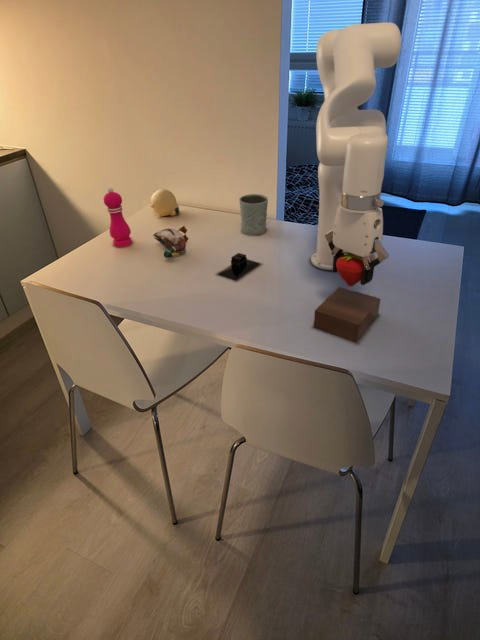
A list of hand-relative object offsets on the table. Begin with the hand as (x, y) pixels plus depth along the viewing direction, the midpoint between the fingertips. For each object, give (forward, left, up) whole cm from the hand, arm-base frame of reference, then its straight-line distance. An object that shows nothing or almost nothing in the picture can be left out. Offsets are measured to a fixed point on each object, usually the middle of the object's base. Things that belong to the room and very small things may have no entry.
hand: (351, 276), depth 94 cm
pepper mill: (+20, -85, -13) cm, 88 cm away
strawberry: (0, 0, -3) cm, 3 cm away
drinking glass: (-21, -60, -13) cm, 65 cm away
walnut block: (0, 0, -13) cm, 13 cm away
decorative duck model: (+12, -66, -13) cm, 68 cm away
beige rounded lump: (-6, -99, -13) cm, 100 cm away
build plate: (+2, -40, -13) cm, 42 cm away
